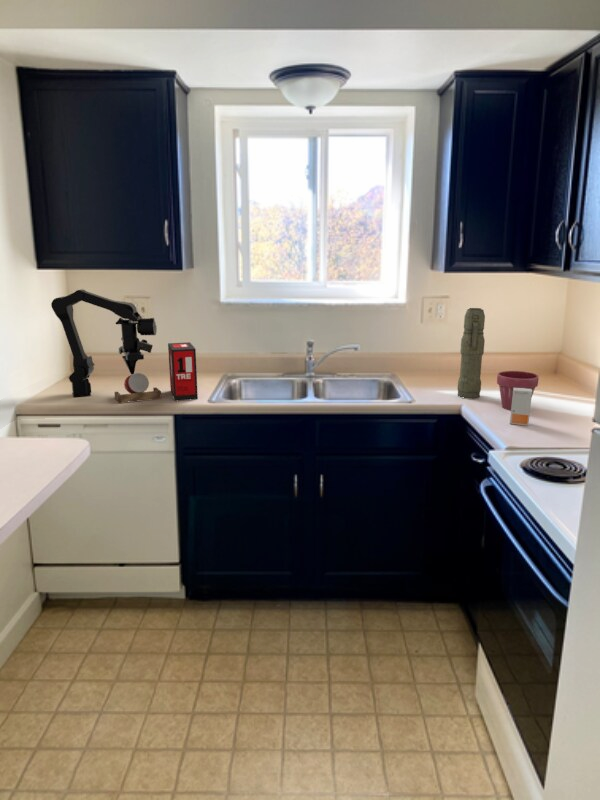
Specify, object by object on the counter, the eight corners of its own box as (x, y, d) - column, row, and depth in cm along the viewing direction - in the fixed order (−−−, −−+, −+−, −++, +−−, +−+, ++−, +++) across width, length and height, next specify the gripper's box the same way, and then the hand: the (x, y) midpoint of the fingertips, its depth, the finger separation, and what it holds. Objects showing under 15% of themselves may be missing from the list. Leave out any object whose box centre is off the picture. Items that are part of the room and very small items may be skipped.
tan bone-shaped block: (118, 403, 221) (117, 395, 220) (115, 399, 227) (114, 391, 226) (161, 398, 228) (160, 391, 227) (156, 394, 234) (156, 387, 233)
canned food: (135, 398, 234) (141, 396, 225) (119, 385, 232) (124, 383, 222) (147, 383, 237) (153, 381, 227) (131, 371, 234) (136, 368, 224)
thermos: (460, 399, 227) (467, 310, 218) (454, 392, 238) (460, 307, 229) (483, 400, 226) (491, 310, 217) (476, 392, 238) (483, 307, 229)
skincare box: (509, 424, 195) (512, 389, 192) (509, 420, 199) (513, 387, 196) (528, 426, 193) (532, 391, 190) (528, 422, 197) (532, 388, 194)
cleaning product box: (197, 399, 228) (195, 348, 222) (174, 400, 225) (171, 350, 220) (192, 389, 243) (190, 342, 238) (170, 391, 240) (168, 343, 235)
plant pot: (486, 406, 217) (489, 373, 214) (509, 401, 225) (512, 368, 222) (520, 415, 206) (523, 380, 203) (543, 409, 214) (546, 375, 210)
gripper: (155, 337, 223) (158, 376, 227) (144, 331, 240) (147, 368, 244) (126, 339, 219) (129, 379, 223) (117, 332, 235) (120, 370, 239)
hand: (132, 374), depth 232 cm, fingers closed
